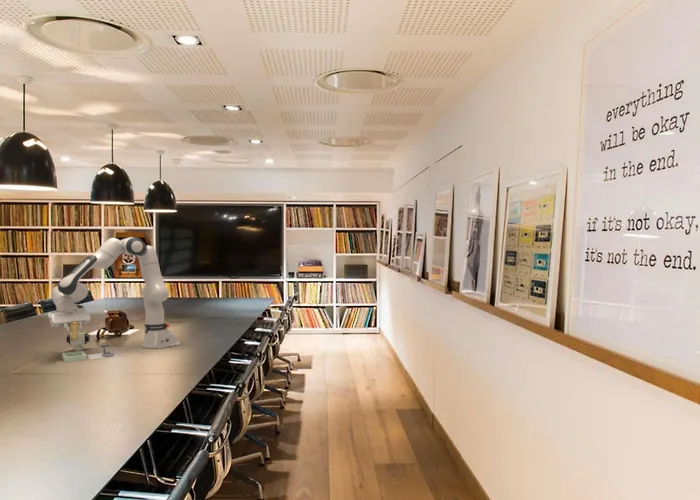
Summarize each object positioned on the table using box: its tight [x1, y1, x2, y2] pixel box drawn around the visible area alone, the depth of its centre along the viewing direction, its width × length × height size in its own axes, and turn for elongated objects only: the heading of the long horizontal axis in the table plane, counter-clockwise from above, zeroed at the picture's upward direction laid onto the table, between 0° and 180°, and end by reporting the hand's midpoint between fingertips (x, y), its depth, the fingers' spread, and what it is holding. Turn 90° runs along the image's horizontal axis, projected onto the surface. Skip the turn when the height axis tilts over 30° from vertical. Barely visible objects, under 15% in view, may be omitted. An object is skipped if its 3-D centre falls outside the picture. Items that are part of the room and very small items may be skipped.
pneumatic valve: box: [66, 330, 91, 352], centre depth 289 cm, size 6×12×12 cm, turn 107°
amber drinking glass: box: [69, 321, 79, 341], centre depth 267 cm, size 4×4×10 cm
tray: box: [61, 350, 88, 363], centre depth 267 cm, size 10×12×4 cm
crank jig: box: [86, 344, 117, 360], centre depth 276 cm, size 13×12×7 cm
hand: (74, 330), depth 266 cm, fingers closed on amber drinking glass, 4 cm apart
